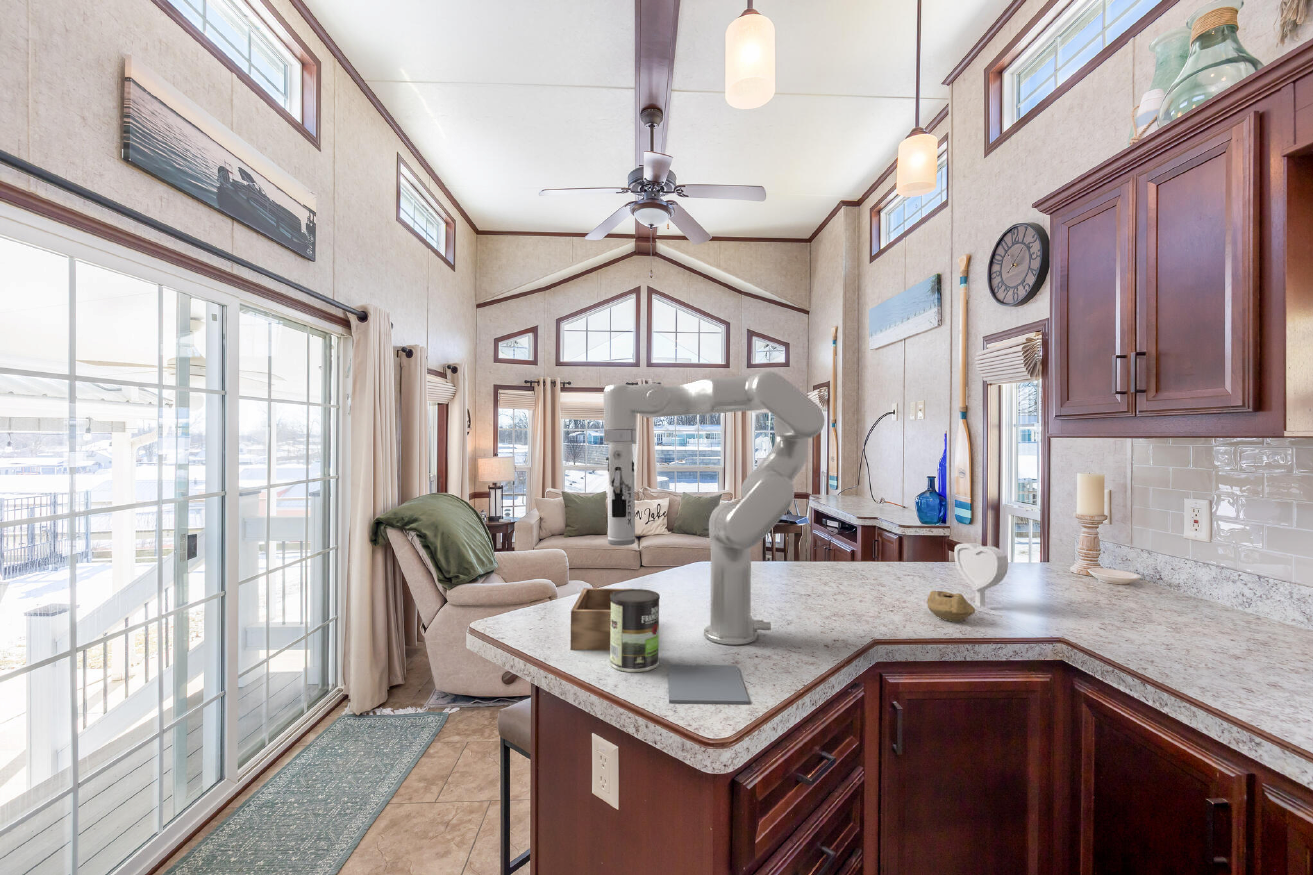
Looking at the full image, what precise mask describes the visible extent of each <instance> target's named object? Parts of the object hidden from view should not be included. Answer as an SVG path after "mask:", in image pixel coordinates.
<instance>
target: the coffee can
mask: <svg viewBox="0 0 1313 875" xmlns="http://www.w3.org/2000/svg"><path fill="white" fill-rule="evenodd" d="M625 589H626V590H620V591H616V592H613V593H612V594H611V595H610V599H611V637H610V650H609V655H610V656H609V658H610V659H609V665H610V666H611V667H612V669H615V670H617V671H621V672H626V673H642V672H644V673H645V672H648V671H651V670H654V669H655V668H657V667H658V666H659V663H660V662H659V658H660V657H659V656H660V655H659V653H660V652H659V650H660V649H659V645H660V644H659V643H660V640H659V639H660V638H659V637H660V636H659V635H660V631H659V630H660V629H659V628H660V597H661V596H660V593H658V592H656V591H653V590H650V589H645V588H644V589H641V588H625Z"/></svg>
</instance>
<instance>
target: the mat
mask: <svg viewBox="0 0 1313 875" xmlns="http://www.w3.org/2000/svg"><path fill="white" fill-rule="evenodd" d="M667 666H668V667H667V669H668V670H667V671H668V673H667V674H668V676H667V678H668V680H667V681H668V703H669V704H673V703H674V704H725V705H729V704H730V705H733V704H736V705H740V704H741V705H743V704H744V705H750V700H749V696H748V693H747V690H746V688H745V684H744V682H743V679H742V676H741V673H740V670H739V667H738V665H737V664H726V665H725V664H675V663H674V664H671V663H670V664H667Z"/></svg>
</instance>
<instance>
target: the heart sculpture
mask: <svg viewBox="0 0 1313 875" xmlns="http://www.w3.org/2000/svg"><path fill="white" fill-rule="evenodd" d="M953 555H954V557H953V558H954V564H955V566H956V568H957V571H958V573H959V574H960V576H962V578H963V579H964V581H965V582H967V584H968V585H969V586H970V587H971V588H972V589H973V591H974V592H975V593H974V595H975V597H974V600H975V601H974V603H975V605H977V606H983V607H985V608H986V607H987V606H986V590H988V589H990V588H993V587H995V586H997V585H998V584H999V583H1002V581H1003V580H1004V579H1005V576H1007V574H1008V567H1009V560H1008V559H1009V558H1008V555H1007V553H1005V551H1003V550H1001V549H999V548H998V547H996V546H993V545H987V546H986V545H985V546H984V545H982V544H981V543H977V542H975V543H974V542H969V543H968V542H967V543H958V544H957V545H955V546H954V552H953Z"/></svg>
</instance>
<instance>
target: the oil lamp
mask: <svg viewBox="0 0 1313 875" xmlns="http://www.w3.org/2000/svg"><path fill="white" fill-rule="evenodd" d="M926 601H927V608H928V609H929V611H930V612H931V613H932V614H933V615H934V616H935V617H936V618H938V617H939V618H941V619H946V620H945V621H947V620H951V621H950V622H952V621H960V622H962V621H961V620H964V621H965V620H966V619H967V618H969V617H970V616H972V615H974V614H975V612H976V610H975V608H974V607H973V606H972V605H971V604H970V603H971V602H969V603H968V601H967V599H966V598H965V597H964V595H963V594H961V593H951V592H948V591H943V590H937V591H936V590H931V591H930V592H929V595H928V597H927V600H926ZM939 618H938V619H939ZM941 619H940V620H941Z"/></svg>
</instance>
